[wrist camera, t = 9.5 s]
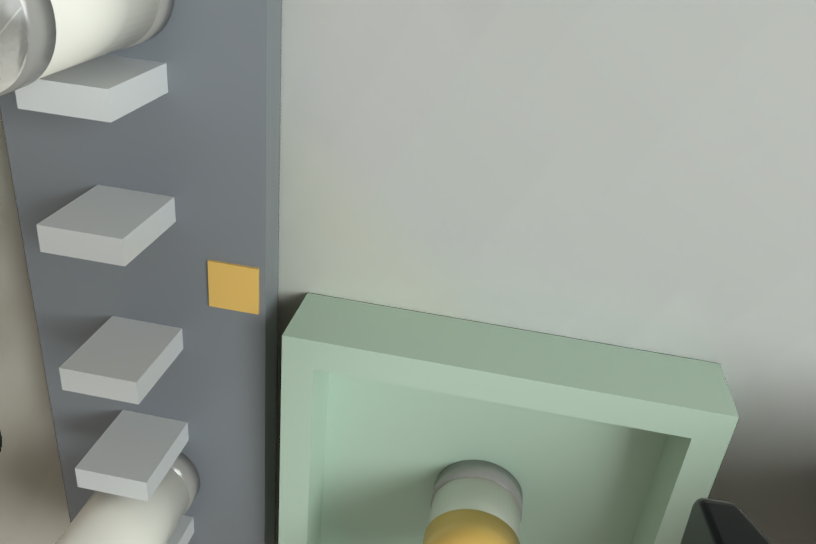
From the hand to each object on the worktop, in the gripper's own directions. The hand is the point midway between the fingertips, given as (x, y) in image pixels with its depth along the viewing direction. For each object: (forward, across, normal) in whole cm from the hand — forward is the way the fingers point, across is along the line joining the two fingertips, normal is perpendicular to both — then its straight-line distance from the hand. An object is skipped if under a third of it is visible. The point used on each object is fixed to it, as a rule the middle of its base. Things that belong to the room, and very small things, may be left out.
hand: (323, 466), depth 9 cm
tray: (+13, -2, +12) cm, 18 cm away
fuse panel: (+13, +9, +5) cm, 17 cm away
